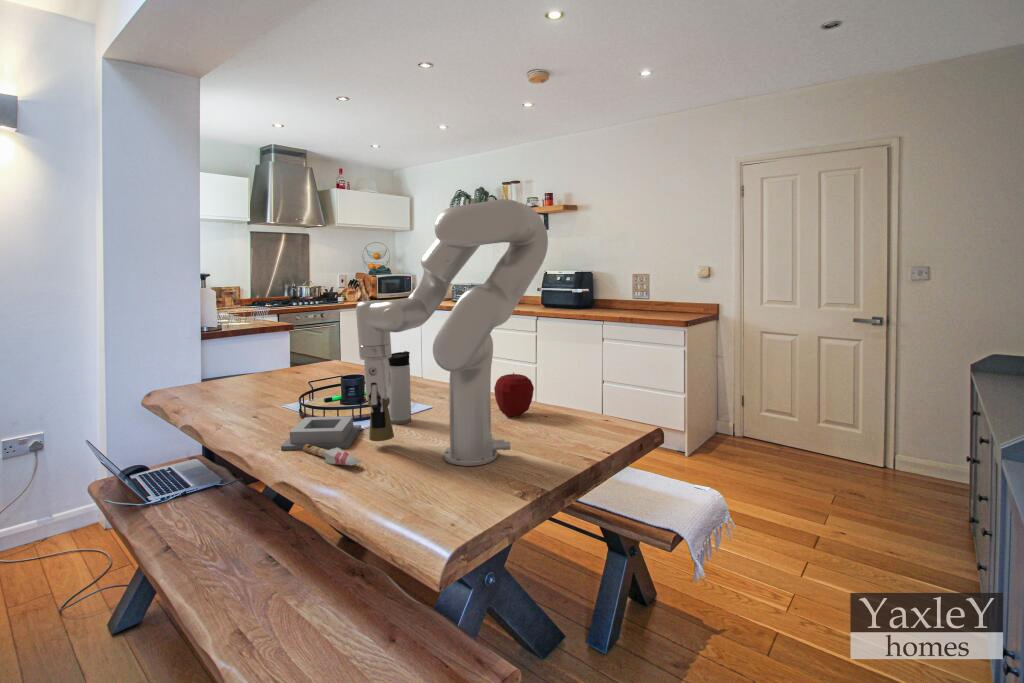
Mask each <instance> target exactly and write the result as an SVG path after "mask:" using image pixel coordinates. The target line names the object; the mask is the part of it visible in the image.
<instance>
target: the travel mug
mask: <svg viewBox="0 0 1024 683" xmlns="http://www.w3.org/2000/svg"><path fill="white" fill-rule="evenodd" d="M391 354H392V357H390V358H389V364H390V372H391V382H392V393H391V395H390V396H389V398H390V403H389V405H388V409H389V414H390V419H391V424H392V425H405V424H408V423H411V422H412V403H411V401H412V398H411V396H412V394H411V393H412V392H411V366H410V364H411V363H410V351H407V350H405V351H401V352H394V353H391Z"/></svg>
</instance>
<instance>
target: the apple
mask: <svg viewBox="0 0 1024 683" xmlns="http://www.w3.org/2000/svg"><path fill="white" fill-rule="evenodd" d="M493 388H494V390H493V391H494V397H495V398H494V399H495V401H496V403H497V407H498V409H499V411H500V412H501V413H502V414H503V415H504V416H505V417H506V418H511V419H513V418H514V419H515V418H519V417H521V416H523V415H524V414H525V413H526V412H527V411H528V410H529V409H530V407H531V406H530V405H531V403H532V401H533V396H534V390H535V388H534V385H533V381H532V380H531V379H530V378H529V377H528V376H527V375H524V374H519V373H515V372H513V373H511V374H505V375H501V376H500V377H499V378H497V380H496V382H495V384H494V387H493Z"/></svg>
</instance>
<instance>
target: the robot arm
mask: <svg viewBox="0 0 1024 683" xmlns="http://www.w3.org/2000/svg"><path fill="white" fill-rule="evenodd" d="M434 234H435V237H436V239H435V240H434V241H433V243H432V244H431V245H430V246H429V247H428V249H427V251H426V252H425V253H424V254H423V255H422V257H421V259H420V264H421V267H422V269H423V275H422V277H421V280H420V282H419V283H418V285H417V286H416V288H415V289H413V291H412V293H410V295H409V296H408V297H406V298H400V299H399V298H398V299H393V300H392V299H391V300H386V301H384V300H379V299H377V300H375V299H374V300H363V301H362V300H361V301H359V302H358V303H357V304H356V306H355V314H356V325H357V326H356V328H357V329H356V330H357V339H358V340H357V341H358V350H359V351H358V354H359V355H358V356H359V359H360V360H361V361H363V363H364V366H363V367H364V384H365V396H366V399H367V401H368V400H369V401H370V400H371V408H370V416H371V419H372V428H374V429H375V428H385V427H386V420H385V411H383V398H384V399H385V400H387V399H388V398H389V396H390V395H391V393H392V382H391V372H390V364H389V358H390V357H392V354H393V353H392V338H391V333H401V332H404V331H408V330H412V329H413V330H414V329H416V328H419V327H421V326H423V325H424V324H425V323H426V322H427V321H429V319H430V318H431V317H432V315H433V314H434V313H435V311H437V310H438V308H439V307H440V305H441V304H442V303H443V301H444V300H445V297H446V296H447V293H448V291H449V289H450V287H451V284H452V282H453V280H454V279H455V278H456V276H457V275H458V274H459V272H461V270H462V269H463V267H465V265H466V264H467V263H468V261H469V260H470V259H471V258H472V257H473V255H474V254H475V253H476V251H478V249H479V247H480V246H483V245H492V244H493V245H494V244H500V243H501V244H502V243H509V244H508V248H507V250H506V251H505V252H504V254H503V255H502V256H501V258H499V260H498V262H497V263H496V265H495V266H494V268H493V270H492V272H491V274H489V275H488V277H487V279H486V280H485V282H484V283H482V284H477V285H474V286H472V287H470V288H468V289H467V290H465V291H464V292H463V293H462V295H461V296H460V297H459V298H458V300H457V301H456V302H455V304H454V306H453V308H452V309H451V310H450V312H449V314H448V315H447V318H446V319H445V321H443V324H442V326H441V328H439V331H438V332H437V334H436V336H435V338H434V341H433V344H432V354H433V358H434V361H435V362H436V365H437V366H438V367H440V368H441V369H442V370H444V371H447V372H449V378H448V380H449V381H448V382H449V383H448V386H449V388H448V390H449V392H448V393H449V396H448V397H449V398H448V399H449V403H448V404H449V405H448V406H449V447H448V448H446V449H445V450H444V451H443V459H444V460H445V461H446V462H448V463H450V464H452V465H455V466H462V467H475V466H476V467H477V466H482V465H486V464H489V463H491V462H493V461H494V460H496V459H497V457H498V451H499V450H502V451H510V450H511V441H505V439H495V438H493V435H492V434H493V433H492V431H491V430H492V429H491V427H492V426H491V425H492V424H491V423H492V420H491V418H492V416H491V412H492V411H491V410H492V409H491V406H492V405H491V402H492V400H491V398H492V397H491V391H492V390H491V388H492V386H491V384H492V382H491V381H492V380H491V378H492V375H491V374H492V363H493V355H494V341H493V337H492V335H491V333H492V331H493V330H494V329H495V328H497V327H500V326H502V325H503V324H504V323H506V322H508V321H509V319H510V318H511V316H512V314H513V313H514V311H515V309H516V308H517V306H518V304H519V303H520V301H521V300H522V298H523V297H524V295H525V294H526V291H527V290H528V289H529V287H530V286H531V283H532V282H533V280H534V278H535V277H536V275H537V274H538V272H539V271H540V269H541V267H542V265H543V264H544V261H545V259H546V255H547V251H548V246H549V237H548V230H547V228H546V225H545V222H544V221H543V219H542V218H541V216H540V215H539V213H538V212H537V211H536V210H535V209H533V208H532V207H531V206H529V205H527V204H525V203H522V202H519V201H517V200H513V199H508V198H506V199H505V198H503V199H495V200H494V199H492V200H488V201H481V202H476V203H470V204H469V203H467V204H463V205H462V204H461V205H455V206H451V207H449V208H446V209H444V210H443V211H442V212H441V213H439V214H438V216H437V218H436V220H435V223H434ZM377 397H381V399H377ZM378 402H380V404H379V403H378Z"/></svg>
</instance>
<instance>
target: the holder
mask: <svg viewBox="0 0 1024 683" xmlns="http://www.w3.org/2000/svg"><path fill="white" fill-rule="evenodd" d="M360 429H362V424H354V416H312V417H311V416H310V417H309V416H308V417H304V418H303V419H301V421H300V422H298V423H297V424H296V425H295V426H294V427H293V428H292V429H291V430H290V431H289V438H287V440H286V441H284V442H283V444H282V445H281V446H280V450H281V451H304V450H303V447H304V446H305V445H306V444H309V445H312V446H316V447H319V448H322V449H326V450H331V449H334V448H337V447H338V448H340V449H341V450H345V449H349V448H350V446H351V445H352V443H353V442H354V440H355V439H356V437H357V436H358V434H359V432H360V431H361V430H360Z"/></svg>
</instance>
